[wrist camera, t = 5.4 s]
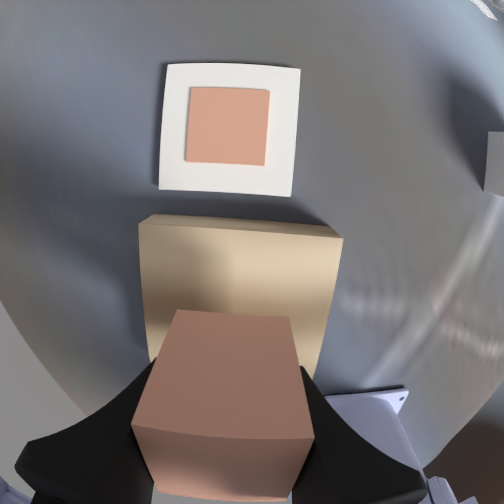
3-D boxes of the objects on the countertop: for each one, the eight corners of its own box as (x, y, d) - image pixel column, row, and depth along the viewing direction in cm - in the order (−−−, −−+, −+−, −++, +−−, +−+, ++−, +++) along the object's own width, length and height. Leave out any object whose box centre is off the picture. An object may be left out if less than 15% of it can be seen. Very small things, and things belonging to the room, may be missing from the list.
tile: (289, 195, 16) (291, 197, 15) (161, 188, 15) (157, 189, 15) (298, 72, 13) (301, 68, 13) (170, 67, 13) (166, 63, 13)
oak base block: (302, 361, 20) (309, 390, 17) (163, 351, 20) (153, 379, 17) (328, 224, 17) (343, 238, 14) (156, 212, 16) (138, 223, 14)
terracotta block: (275, 393, 13) (286, 500, 7) (183, 387, 13) (158, 491, 7) (288, 316, 12) (314, 437, 6) (177, 309, 11) (130, 423, 6)
